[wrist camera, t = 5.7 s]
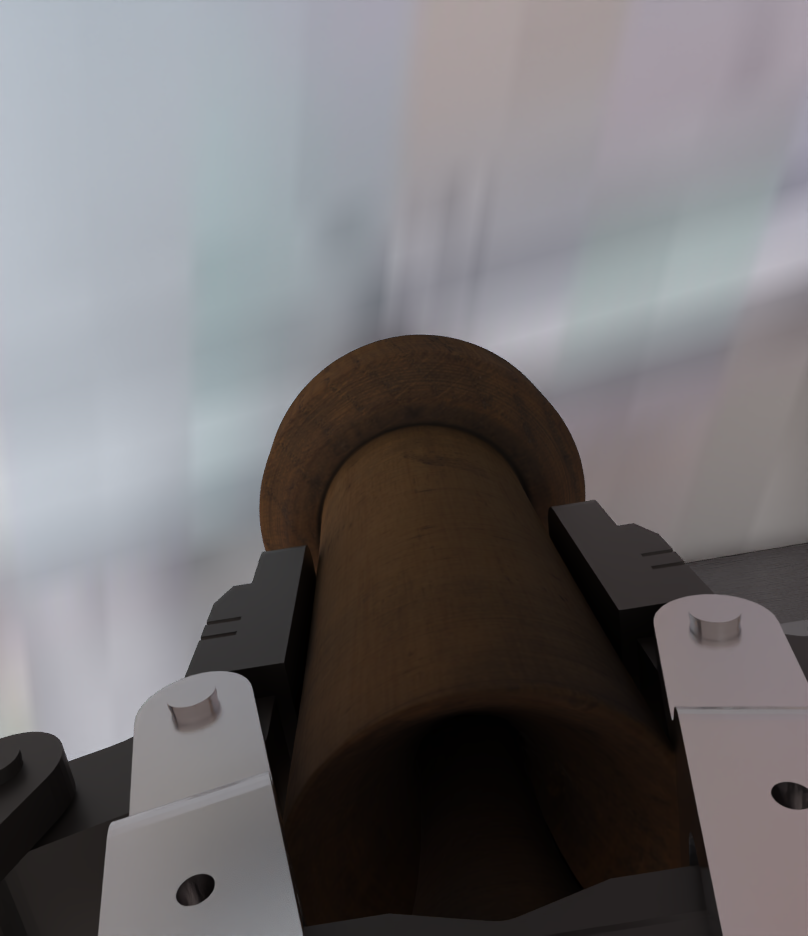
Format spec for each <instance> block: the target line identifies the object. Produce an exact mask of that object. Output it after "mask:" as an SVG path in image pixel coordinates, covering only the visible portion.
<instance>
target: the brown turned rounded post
mask: <svg viewBox="0 0 808 936" xmlns="http://www.w3.org/2000/svg"><path fill="white" fill-rule="evenodd" d="M584 501H585V482H584V474H583V469H582V464H581V460H580V456H579V453H578V450H577V447H576V445H575V442H574V440H573V438H572V436H571V434H570V432H569V430H568V428H567V426H566V425H565V423H564V421H563V420H562V418H561V417H560V415H559V414H558V413H557V411H556V410H555V409H554V407H553V406H552V405H551V404H550V403H549V401H548V400H547V399H546V398H545V397H544V396H543V395H542V394H541V392H540V391H539V390H538V389H537V388H536V387H535V386H534V385H533V384H532V383H531V381H530V380H529V379H528V378H527V377H526V376H524V375H523V374H522V373H521V372H520V371H519V370H518V369H516V368H515V367H514V366H513V365H511V364H510V363H509V362H507V361H506V360H504V359H503V358H501V357H499V356H498V355H496V354H494V353H492V352H490V351H488V350H486V349H484V348H482V347H479V346H477V345H474V344H472V343H469V342H466V341H462V340H459V339H454V338H450V337H444V336H436V335H405V336H398V337H393V338H388V339H384V340H380V341H377V342H374V343H371V344H368V345H365V346H363V347H360V348H358V349H356V350H354V351H352V352H350V353H348V354H346V355H344V356H343V357H341V358H339V359H337V360H336V361H334V362H333V363H331V364H330V365H329V366H327V367H326V368H325V369H324V370H322V371H321V372H320V373H319V374H318V375H317V376H316V377H314V378H313V379H312V380H311V381H310V382H309V383H308V385H307V386H306V387H305V388H304V389H303V390H302V391H301V392H300V394H299V395H298V396H297V398H296V399H295V400H294V402H293V403H292V405H291V406H290V408H289V409H288V411H287V413H286V414H285V416H284V418H283V420H282V422H281V424H280V426H279V429H278V431H277V433H276V436H275V439H274V442H273V445H272V448H271V451H270V454H269V457H268V460H267V463H266V467H265V470H264V474H263V479H262V484H261V491H260V526H261V533H262V539H263V543H264V547H265V550H266V551H272V550H278V549H284V548H291V547H297V546H303V545H308V547H309V549H310V552H311V555H312V559H313V563H314V568H315V573H316V585H315V593H314V602H313V610H312V618H311V626H310V634H309V642H308V650H307V658H306V665H305V672H304V679H303V687H302V694H301V701H300V708H299V715H298V722H297V728H296V735H295V741H294V748H293V754H292V761H291V768H290V774H289V781H288V787H287V794H286V801H285V808H284V815H283V821H282V822H283V827H284V831H285V835H286V840H287V844H288V848H289V852H290V857H291V861H292V865H293V869H294V873H295V877H296V881H297V885H298V889H299V893H300V897H301V901H302V905H303V909H304V913H305V918H306V922H307V926H313V925H319V924H326V923H332V922H338V921H345V920H351V919H358V918H364V917H370V916H377V915H383V914H402V915H416V916H429V917H443V918H456V919H470V920H483V921H505V920H510V919H513V918H516V917H519V916H521V915H524V914H526V913H529V912H531V911H533V910H536V909H538V908H541V907H543V906H546V905H548V904H550V903H553V902H555V901H558V900H560V899H562V898H565V897H567V896H570V895H572V894H575V893H577V892H579V891H582V890H584V889H587V888H589V887H592V886H594V885H596V884H599V883H601V882H604V881H606V880H609V879H611V878H618V877H624V876H630V875H637V874H643V873H649V872H656V871H662V870H669V869H675V868H681V851H680V831H679V810H678V796H677V786H676V768H675V754H674V750H673V747H672V745H671V743H670V741H669V739H668V737H667V736H666V734H665V732H664V731H663V729H662V727H661V726H660V724H659V722H658V721H657V719H656V717H655V716H654V714H653V712H652V711H651V709H650V707H649V706H648V704H647V703H646V701H645V699H644V698H643V696H642V694H641V693H640V691H639V689H638V688H637V686H636V684H635V683H634V681H633V679H632V678H631V676H630V674H629V673H628V671H627V669H626V668H625V666H624V664H623V663H622V661H621V659H620V658H619V656H618V654H617V653H616V651H615V649H614V648H613V646H612V644H611V642H610V641H609V639H608V637H607V636H606V634H605V632H604V630H603V629H602V627H601V625H600V623H599V622H598V620H597V618H596V617H595V615H594V613H593V612H592V610H591V608H590V606H589V605H588V603H587V601H586V599H585V598H584V596H583V594H582V592H581V590H580V589H579V587H578V586H577V584H576V582H575V580H574V579H573V577H572V575H571V573H570V572H569V570H568V568H567V566H566V564H565V563H564V561H563V559H562V558H561V556H560V554H559V552H558V550H557V549H556V547H555V545H554V544H553V542H552V540H551V538H550V536H549V527H548V510H549V507H552V506H559V505H565V504H571V503H578V502H584Z"/></svg>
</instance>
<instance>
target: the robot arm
mask: <svg viewBox="0 0 808 936" xmlns="http://www.w3.org/2000/svg"><path fill="white" fill-rule="evenodd" d="M548 527H549V536H550V538H551V540H552V542H553V544H554V545H555V547H556V549H557V550H558V552H559V554H560V556H561V558H562V559H563V561H564V563H565V564H566V566H567V568H568V570H569V572H570V573H571V575H572V577H573V579H574V580H575V582H576V584H577V586H578V587H579V589H580V590H581V592H582V594H583V596H584V598H585V599H586V601H587V603H588V605H589V606H590V608H591V610H592V612H593V613H594V615H595V617H596V618H597V620H598V622H599V623H600V625H601V627H602V629H603V630H604V632H605V634H606V636H607V637H608V639H609V641H610V642H611V644H612V646H613V648H614V649H615V651H616V653H617V654H618V656H619V658H620V659H621V661H622V663H623V664H624V666H625V668H626V669H627V671H628V673H629V674H630V676H631V678H632V679H633V681H634V683H635V684H636V686H637V688H638V689H639V691H640V693H641V694H642V696H643V698H644V699H645V701H646V703H647V704H648V706H649V707H650V709H651V711H652V712H653V714H654V716H655V717H656V719H657V721H658V722H659V724H660V726H661V727H662V729H663V731H664V732H665V734H666V736H667V737H668V739H669V741H670V743H671V745H672V747H673V750H674V754H675V768H676V786H677V796H678V810H679V831H680V851H681V868H675V869H669V870H662V871H656V872H649V873H643V874H637V875H630V876H624V877H618V878H611V879H609V880H606V881H604V882H601V883H599V884H596V885H594V886H592V887H589V888H587V889H584V890H582V891H579V892H577V893H575V894H572V895H570V896H567V897H565V898H562V899H560V900H558V901H555V902H553V903H550V904H548V905H546V906H543V907H541V908H538V909H536V910H533V911H531V912H529V913H526V914H524V915H521V916H519V917H516V918H513V919H510V920H505V921H483V920H470V919H456V918H443V917H429V916H416V915H402V914H383V915H377V916H370V917H364V918H358V919H351V920H345V921H338V922H332V923H326V924H319V925H313V926H307V922H306V918H305V913H304V909H303V905H302V901H301V897H300V893H299V889H298V885H297V881H296V877H295V873H294V869H293V865H292V861H291V857H290V852H289V848H288V844H287V840H286V835H285V831H284V827H283V822H282V821H283V815H284V808H285V801H286V794H287V787H288V781H289V774H290V768H291V761H292V754H293V748H294V741H295V735H296V728H297V722H298V715H299V708H300V701H301V694H302V687H303V679H304V672H305V665H306V658H307V650H308V642H309V634H310V626H311V618H312V610H313V602H314V593H315V585H316V573H315V568H314V563H313V559H312V555H311V552H310V549H309V547H308V545H303V546H297V547H291V548H284V549H278V550H272V551H265V552H262V554H261V556H260V560H259V563H258V566H257V569H256V572H255V575H254V579H253V582H252V583H251V584H245V585H238V586H233V587H232V588H231V589H230V590H229V591H227V592H226V593H225V594H224V595H223V596H222V597H221V598H220V599H219V600H218V601H217V602H215V603H214V605H213V608H212V610H211V613H210V615H209V618H208V620H207V625H205V628H204V630H203V633H202V635H201V641H199V643H198V645H197V648H196V650H195V653H194V655H193V658H192V660H191V663H190V665H189V668H188V670H187V673H186V675H185V678H183V679H180V680H178V681H176V682H173V683H171V684H169V685H168V686H166V687H164V688H162V689H161V690H159V691H158V692H156V693H155V694H154V695H152V696H151V697H150V698H149V699H148V700H147V701H146V702H145V703H144V704H143V705H142V706H141V708H140V709H139V711H138V713H137V715H136V717H135V722H134V737H132V738H130V739H128V740H126V741H123V742H121V743H118V744H116V745H113V746H111V747H108V748H105V749H102V750H99V751H97V752H94V753H91V754H88V755H85V756H83V757H80V758H77V759H74V760H71V761H69V762H68V760H67V757H66V754H65V751H64V748H63V746H62V743H61V741H60V740H59V739H58V738H57V737H56V736H54V735H52V734H49V733H44V732H27V733H20V734H15V735H11V736H8V737H4V738H1V739H0V936H808V636H796V635H788V634H784V632H783V630H782V628H781V626H780V623H779V621H778V620H777V618H776V617H775V615H774V614H772V613H771V612H770V611H769V610H768V609H766V608H765V607H763V606H761V605H759V604H757V603H755V602H752V601H749V600H746V599H743V598H739V597H734V596H728V595H718V594H714V593H713V592H712V590H711V589H710V588H709V587H708V586H707V585H706V584H705V583H704V582H703V581H702V580H701V579H700V578H699V577H698V576H697V575H696V573H695V572H694V571H693V570H692V569H691V568H690V567H689V566H688V565H687V564H684V561H683V560H682V559H681V558H680V556H679V555H678V554H677V553H676V552H673V550H672V548H671V547H670V546H669V545H668V544H667V543H666V542H665V540H664V539H663V538H662V537H661V536H660V535H659V534H657V533H655V532H652V531H650V530H648V529H645V528H643V527H641V526H638V525H636V524H634V523H633V524H627V525H620V526H617V525H616V524H615V523H614V522H613V520H612V519H611V518H610V517H609V516H608V514H607V513H606V512H605V511H604V509H603V508H602V507H601V506H600V505H599V503H598V502H597V501H596V500H590V501H584V502H578V503H571V504H565V505H559V506H552V507H549V510H548Z"/></svg>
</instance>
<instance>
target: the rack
mask: <svg viewBox="0 0 808 936" xmlns="http://www.w3.org/2000/svg"><path fill="white" fill-rule="evenodd" d="M686 564H687V565H688V566H689V567H690V568H691V569H692V570H693V571H694V572H695V573H696V575H697V576H698V577H699V578H700V579H701V580H702V581H703V582H704V583H705V584H706V585H707V586H708V587H709V588H710V589H711V590H712V592H713V593H714V594H718V595H728V596H734V597H739V598H743V599H746V600H749V601H752V602H755V603H757V604H759V605H761V606H763V607H765V608H766V609H768V610H769V611H770V612H771V613H772V614H774V615H775V617H776V618H777V620H778V621H779V623H780V626H781V628H782V630H783V632H784V634H788V635H796V636H808V543H806V544H800V545H794V546H788V547H782V548H776V549H770V550H764V551H758V552H752V553H746V554H740V555H734V556H728V557H722V558H716V559H710V560H704V561H698V562H692V563H686Z"/></svg>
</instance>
